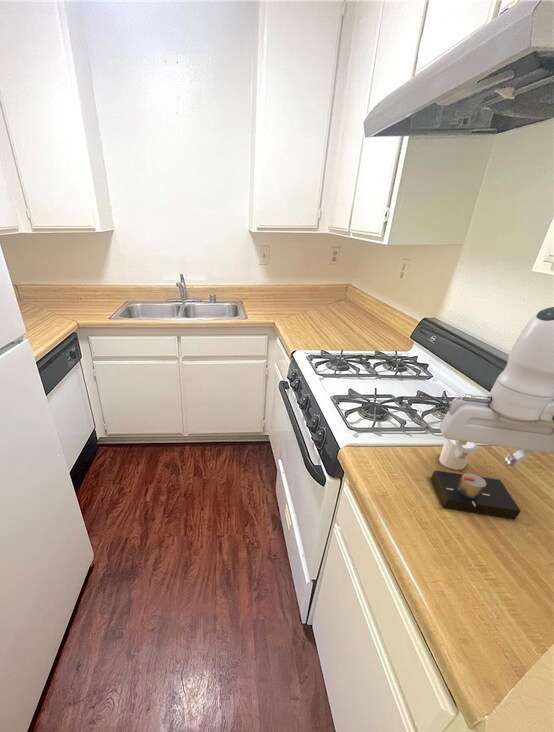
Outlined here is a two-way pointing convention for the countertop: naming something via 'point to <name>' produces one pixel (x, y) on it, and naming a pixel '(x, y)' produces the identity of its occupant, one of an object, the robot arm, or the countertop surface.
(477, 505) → the black knob base
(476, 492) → the hob knob
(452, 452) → the white cylinder
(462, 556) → the countertop surface
